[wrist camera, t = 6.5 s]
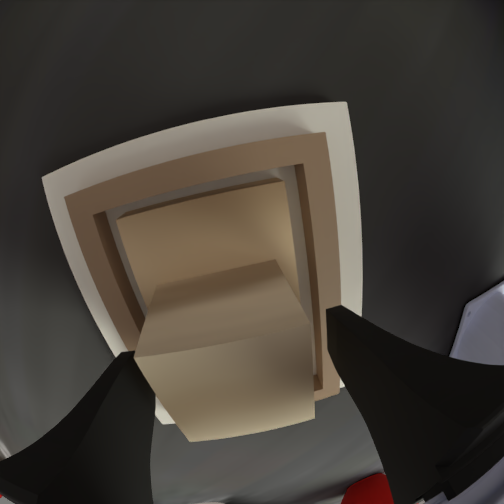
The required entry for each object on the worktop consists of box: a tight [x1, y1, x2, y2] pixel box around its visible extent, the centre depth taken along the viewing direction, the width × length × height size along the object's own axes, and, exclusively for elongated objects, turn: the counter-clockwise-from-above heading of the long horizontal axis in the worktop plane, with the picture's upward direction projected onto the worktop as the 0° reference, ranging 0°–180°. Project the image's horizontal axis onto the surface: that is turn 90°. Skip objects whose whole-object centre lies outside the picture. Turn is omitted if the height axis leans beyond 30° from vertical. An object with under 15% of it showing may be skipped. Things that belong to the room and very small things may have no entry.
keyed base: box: [42, 102, 363, 426], centre depth 12 cm, size 16×13×2 cm
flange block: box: [116, 177, 315, 442], centre depth 9 cm, size 10×6×5 cm, turn 10°
